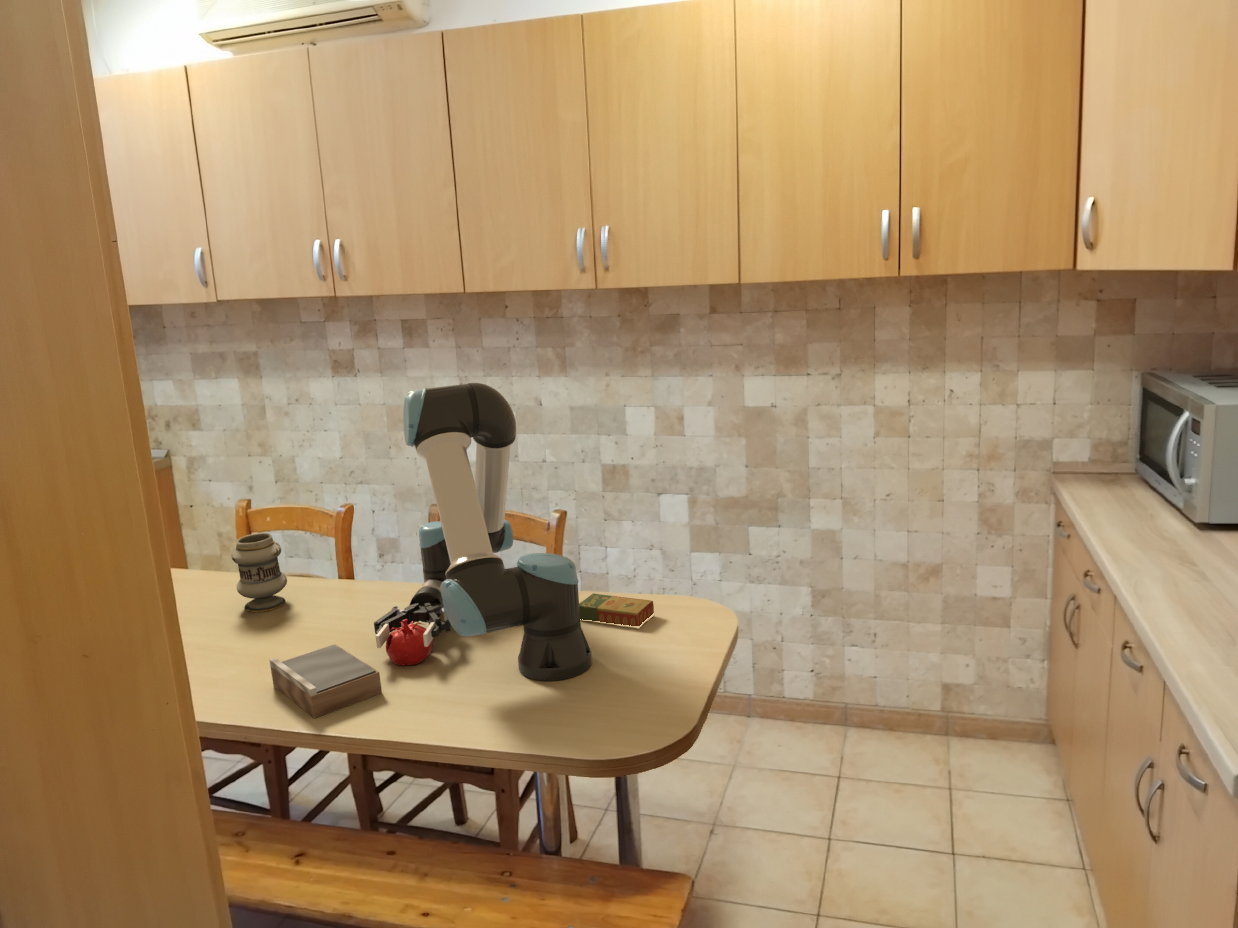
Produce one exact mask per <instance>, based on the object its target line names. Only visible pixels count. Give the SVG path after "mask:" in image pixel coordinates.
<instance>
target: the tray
mask: <svg viewBox="0 0 1238 928" xmlns="http://www.w3.org/2000/svg"><path fill="white" fill-rule="evenodd" d="M269 665H270V666H269V667H270V672H271V678H272V685H273V687H274V688H275V689H276V690H278V692H280V693H281V694H283V695H284V696H285V697H286V698H288V699H289V700H290V701H291V702H293V703H294V704H295V705H297V707H299V708H300V709H302V710H303V711H304V712H305V713H307V714H308V715H309V716H311V717H312V718H313V719H317V718H319V717H320V718H321V716H325V715H327V714H330V713H332V712H333V713H334V711H337V710H342V709H343V708H346V707H348V706H350V705H353V704H356V703H359V702H361V701H364V700H367V699H369V698H372V697H375V696H377V695H380V694H382V693H383V690H382V683H381V675H380V671H379V670H377V669H376V668H373V667H372V666H370V665H369V664H368V663H366V662H364V661H362V659H359V658H358V657H356V656H355V655H354V654H351V653H350V652H348V651H347V650H345V649H344V648H342V647H340V646H339V645H337V644H331V645H328V646H325V647H322V648H319V649H316V650H313V651H310V652H307V653H304V654H301V655H298V656H294V657H291V658H289V659H286V660H282V661H281V660H279V659H278V658H276V657H273V658H270V659H269Z"/></svg>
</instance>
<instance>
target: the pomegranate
mask: <svg viewBox="0 0 1238 928" xmlns="http://www.w3.org/2000/svg"><path fill="white" fill-rule="evenodd" d="M407 621H408V620H407V619H404V620H402V622H400V623H401V625H402V627H400V628H394V627H393V628H391V629H390V630H389V631H391V630H392V629H394V631H392V632H390V636H389V637H388V639H387V640H386V642H385V652H386V654H387V656H388V657H389V659H390V661H392V663H394V664H395V665H398V666H414V665H418V664H420V663H421V662H422V661H425V660H426V659H427V658H428V657H429V655H430V653H431V651H432V648H433V644H434V639H433V640H432V641H431V643H430V644H429V646H428V647H424V639H423V634H424V632H425V631H426V629H427V628H425V627H423V626H421V625H423V622H420V621H419V622H416V621H412V622H411V623H410V624H409V625H408V624H407ZM413 622H415V623H413Z"/></svg>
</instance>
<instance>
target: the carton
mask: <svg viewBox="0 0 1238 928" xmlns="http://www.w3.org/2000/svg"><path fill="white" fill-rule="evenodd" d="M654 605H655V604H654V600H650V599H642V598H641V599H640V598H633V597H625V596H618V595H617V596H616V595H610V594H600V593H594V592H593V593H591V594H590V595H589V596H587V597H586V598H585V599H583V600H582V601H581V602H579V609H580V619H581V620H582V619H583V620H592V621H600V622H606V623H614V624H621V625H622V624H623V625H629V626H630V625H631V626H640V625H641V624H642V622H644V621H645V620H646V619H647V618H649V617H650V616H651V615H652V614H653V613H654V614H655V608H654Z"/></svg>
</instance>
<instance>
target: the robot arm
mask: <svg viewBox="0 0 1238 928" xmlns="http://www.w3.org/2000/svg"><path fill="white" fill-rule="evenodd" d="M402 416H403V419H402V420H403V434H404V435H403V436H404V441H405V444H406V446H408V447H411V448H413V447H415V451H416V454H417V456H418V457H420V458H422V459H423V460H425V461H426V466H427V469H428V474H429V478H430V482H431V486H432V491H433V495H434V499H435V503H436V506H437V507H436V508H437V511H438V516H439V521H430V522H427V523H424V524H423V525H421V526H420V527H419V531H418V537H419V548H420V555H421V556H420V557H421V563H422V574H423V575H422V576H423V583H422V585H421V586H420V587H419V588H418V589H417V591H416V592H415V594H414V595H413V596H412V597H411V600H410V603H409V605H408V606H406V607H404V609H403V608H402V609H400V608H399V607H398V606H396V605H395V606H392V607H391V610H389V611H388V612H387V613H385V614H383V615H382V616H381V617H379V618H377V619H376V620H375V621H373V628H374V634H376V635H375V642H376V643H375V644H376V649H381V648H382V647H383V646H384V644H386V641H387V639H388V637H389V636H390V634H391V633H392V632H393V631H395V630H394V629H392V630H391V631H389V630H390V629H391V628H393V627H394V628H401V627H402V625H401V623H400V622H402V620H404V619H407V620H408V621H407V624H408V625H409V624H410V623H411V622H412V621H416V622H413V624H416V623H418V622H419V623H424V624H426V623H427V624H428V625H429V626H427V628H426V631H425V632H424V634H423V639H424V647H428V646H429V644H430V643H431V641H432V640H433V641H434V638H437V637H439V635H440V634H441V633H443V631H445V632H446V633H449V632H451V631H452V629H453V630H454V632H456V633H457V635H459V636H461V637H468V638H469V637H473V636H474V637H475V636H485V635H486V634H489V633H493V632H498V631H502V630H507V629H511V628H516V627H520V626H523V637H522V640H521V644H520V648H519V649H520V650H519V653H518V656H517V663H518V664H517V666H518V671H519V673H520V674H521V675H523V676H524V677H526V678H528V679H532V680H536V681H544V682H545V681H551V682H552V681H560V680H562V681H563V680H566V679H571V678H573V677H577V676H580V675H581V674H583V673H585V672H587V670H589V669H590V667H591V666H592V663H593V659H592V658H593V657H592V650H591V648H590V645H589V642H588V640H587V637H586V636H585V634H584V631H583V629H582V626H581V622H582V621H580V609H579V603H580V599H579V585H578V584H579V579H578V575H577V574H578V573H577V567H576V564H575V563H574V561H573V560H572V559H570V558H569V557H567V556H564V555H560V554H557V553H548V552H538V553H537V552H533V553H528V554H524V555H523V556H520V557H518V559H517V562H516V566H514V567H510V568H505V564H504V560H503V558H502V557H500V556H498V555H497V554H496V553H500V552H503V551H507V550H510V549H511V548H512V546H513V544H514V534H513V531H514V530H513V528H512V525H511V522H510V521H509V520H508V519H505V518H506V503H507V496H508V495H507V493H508V482H509V480H508V479H509V467H510V458H511V457H510V455H511V446H512V445H513V444H514V443H515V441H516V436H517V422H516V418H515V414H514V412H513V409H512V406H511V405H510V403H509V402H508V401H507V399H506V398H505V397H504V396H503V394H501V393H500V392H499V391H498V390H497V389H495V388H493V387H492V386H490V385H488V384H485V383H481V382H468V383H462V384H454V385H444V386H436V387H429V388H428V387H424V388H421V389H415V390H411V391H409V392H407V393H406V395H405V397H404V400H403V415H402ZM472 439H473V441H474V443H475V444H476V449H475V469H474V475H473V470H472V467H471V463H470V459H469V456H468V452H467V450H468V449H469V447H470V446H471V444H472ZM441 615H442V616H443V619H444V620H443V621H442V619H441Z"/></svg>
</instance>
